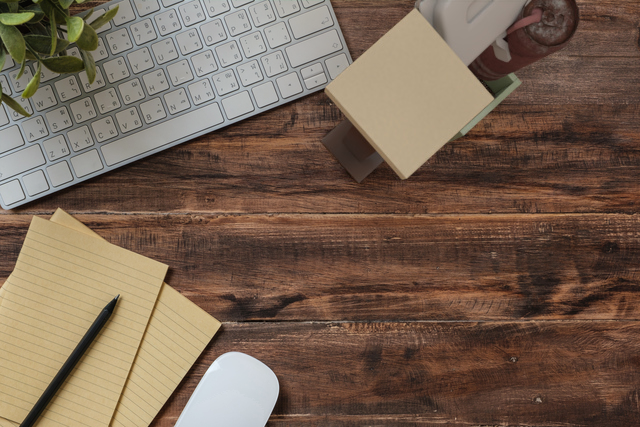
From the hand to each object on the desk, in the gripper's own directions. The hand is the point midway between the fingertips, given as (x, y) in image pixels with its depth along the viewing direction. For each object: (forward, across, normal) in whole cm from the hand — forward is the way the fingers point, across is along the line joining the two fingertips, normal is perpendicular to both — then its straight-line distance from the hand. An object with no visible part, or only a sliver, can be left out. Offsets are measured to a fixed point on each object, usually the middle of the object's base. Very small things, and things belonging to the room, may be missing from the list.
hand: (523, 40), depth 49 cm
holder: (+14, -1, +14) cm, 20 cm away
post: (+11, -16, +16) cm, 25 cm away
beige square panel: (-8, -16, -2) cm, 18 cm away
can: (+5, 0, +7) cm, 9 cm away
